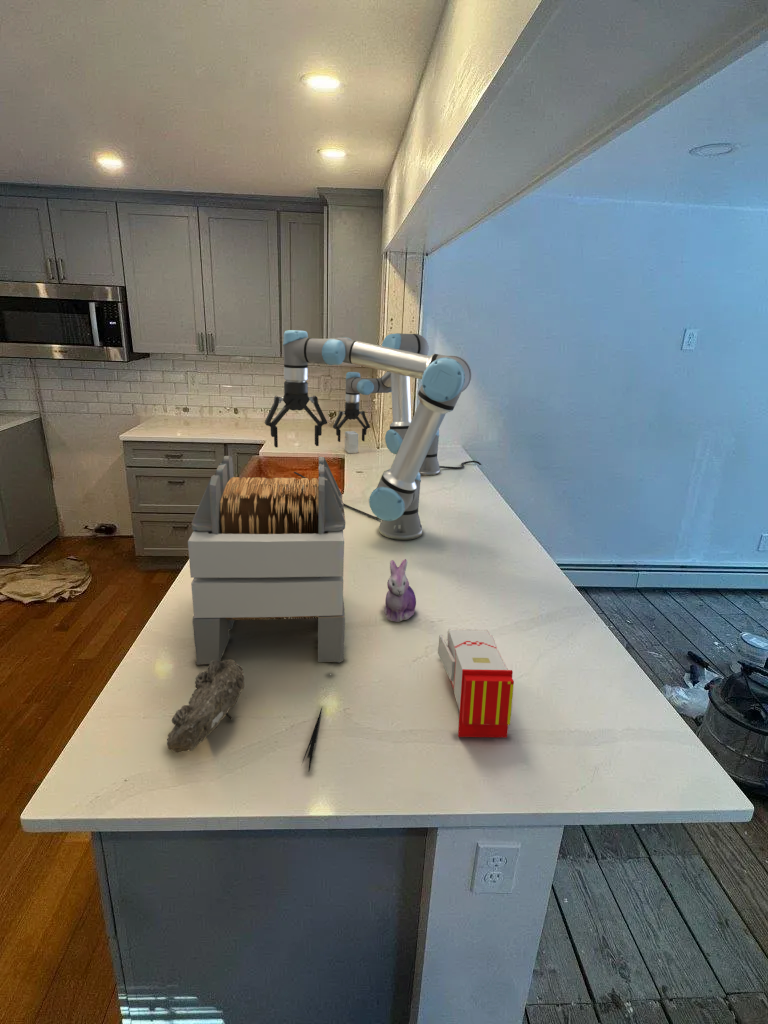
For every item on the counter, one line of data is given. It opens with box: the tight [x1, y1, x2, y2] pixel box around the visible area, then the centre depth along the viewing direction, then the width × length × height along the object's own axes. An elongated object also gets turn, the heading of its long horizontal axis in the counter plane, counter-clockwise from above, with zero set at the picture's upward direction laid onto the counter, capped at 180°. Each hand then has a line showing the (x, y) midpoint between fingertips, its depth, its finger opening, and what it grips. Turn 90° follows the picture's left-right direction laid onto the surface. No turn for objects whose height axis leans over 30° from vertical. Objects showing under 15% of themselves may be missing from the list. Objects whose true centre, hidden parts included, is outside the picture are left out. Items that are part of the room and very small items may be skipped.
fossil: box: [166, 658, 245, 754], centre depth 106 cm, size 22×10×15 cm
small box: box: [344, 430, 359, 454], centre depth 308 cm, size 8×6×10 cm
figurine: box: [384, 558, 417, 623], centre depth 145 cm, size 9×10×15 cm
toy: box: [437, 628, 515, 738], centre depth 117 cm, size 12×13×30 cm
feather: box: [301, 673, 332, 771], centre depth 108 cm, size 2×28×2 cm
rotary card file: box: [187, 455, 346, 666], centre depth 133 cm, size 34×33×41 cm
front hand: (296, 445), depth 189 cm, fingers open, 13 cm apart
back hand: (351, 441), depth 308 cm, fingers open, 13 cm apart
